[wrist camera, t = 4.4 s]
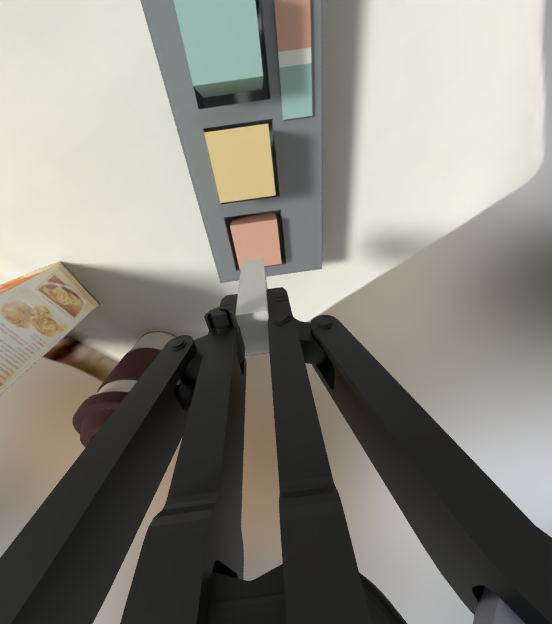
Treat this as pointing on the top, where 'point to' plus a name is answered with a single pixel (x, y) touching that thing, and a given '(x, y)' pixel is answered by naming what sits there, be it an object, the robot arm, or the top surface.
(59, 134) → the top surface
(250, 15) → the key
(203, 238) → the top surface
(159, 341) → the coffee cup
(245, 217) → the key
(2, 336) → the coffeecake box
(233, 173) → the key mid
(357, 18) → the top surface
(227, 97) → the keypad board
